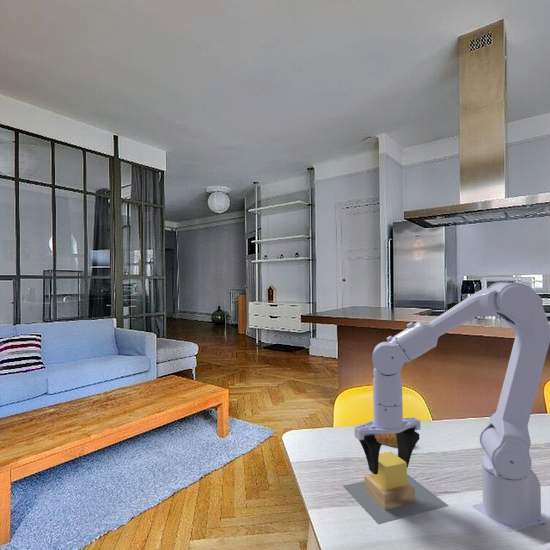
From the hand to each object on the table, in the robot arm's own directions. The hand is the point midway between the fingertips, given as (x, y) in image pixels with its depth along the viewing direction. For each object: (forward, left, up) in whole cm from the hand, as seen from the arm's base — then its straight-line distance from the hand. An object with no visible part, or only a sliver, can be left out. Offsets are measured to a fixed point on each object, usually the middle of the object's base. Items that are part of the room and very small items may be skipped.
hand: (388, 468), depth 76 cm
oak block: (0, 0, -6) cm, 6 cm away
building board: (-1, 0, -6) cm, 6 cm away
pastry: (-16, -20, -7) cm, 27 cm away
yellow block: (0, 0, -3) cm, 3 cm away
